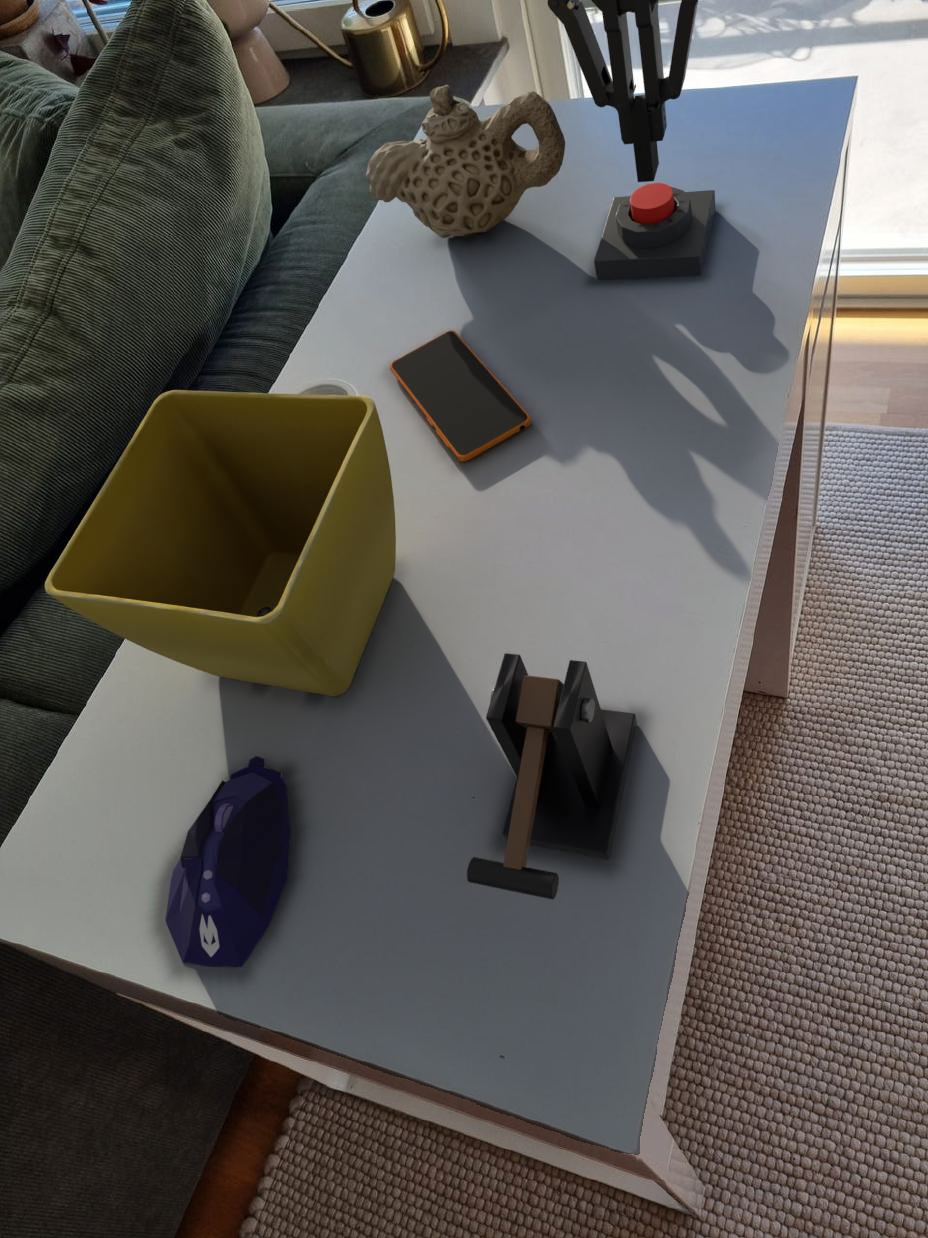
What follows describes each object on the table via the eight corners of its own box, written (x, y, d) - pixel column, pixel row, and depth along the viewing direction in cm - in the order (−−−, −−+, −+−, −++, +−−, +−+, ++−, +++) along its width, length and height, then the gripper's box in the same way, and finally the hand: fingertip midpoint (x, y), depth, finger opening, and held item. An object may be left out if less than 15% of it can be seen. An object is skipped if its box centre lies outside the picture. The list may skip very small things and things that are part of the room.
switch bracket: (609, 860, 60) (577, 779, 50) (506, 840, 63) (455, 760, 53) (637, 721, 65) (613, 622, 55) (540, 709, 68) (500, 611, 57)
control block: (715, 209, 93) (713, 172, 90) (700, 275, 88) (698, 239, 85) (616, 215, 97) (611, 180, 94) (597, 280, 92) (590, 244, 89)
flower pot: (368, 744, 70) (272, 623, 56) (163, 706, 77) (35, 590, 63) (445, 541, 79) (379, 394, 65) (255, 524, 86) (160, 389, 72)
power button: (677, 197, 90) (676, 180, 89) (670, 223, 88) (669, 207, 87) (636, 200, 92) (634, 184, 90) (628, 226, 90) (626, 210, 88)
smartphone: (454, 332, 93) (452, 326, 92) (535, 425, 83) (533, 418, 83) (388, 369, 93) (385, 363, 92) (461, 467, 83) (459, 460, 82)
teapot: (379, 271, 102) (328, 140, 90) (398, 207, 108) (352, 76, 96) (573, 244, 96) (546, 99, 84) (581, 177, 102) (557, 33, 90)
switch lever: (558, 900, 53) (547, 899, 51) (475, 883, 55) (462, 881, 52) (591, 690, 56) (582, 681, 53) (511, 681, 57) (500, 671, 55)
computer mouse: (145, 961, 65) (113, 946, 62) (204, 763, 73) (178, 740, 69) (266, 970, 62) (239, 955, 59) (313, 764, 70) (292, 740, 67)
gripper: (517, -88, 68) (571, 202, 87) (700, -123, 64) (715, 192, 82) (541, -135, 72) (587, 154, 91) (715, -171, 67) (726, 142, 86)
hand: (648, 172), depth 87 cm, fingers closed
